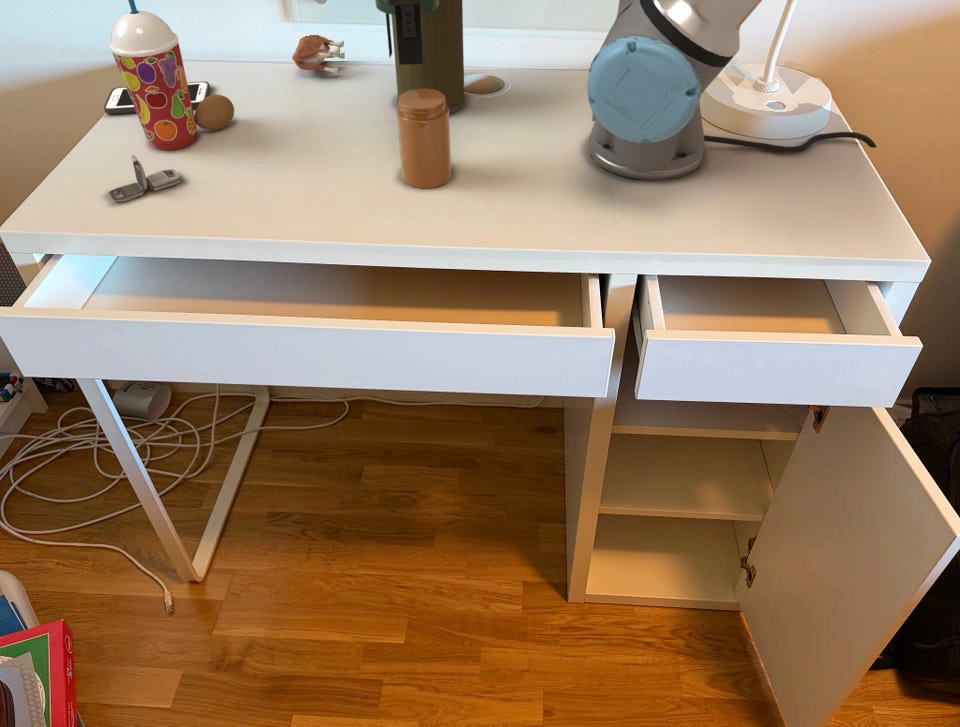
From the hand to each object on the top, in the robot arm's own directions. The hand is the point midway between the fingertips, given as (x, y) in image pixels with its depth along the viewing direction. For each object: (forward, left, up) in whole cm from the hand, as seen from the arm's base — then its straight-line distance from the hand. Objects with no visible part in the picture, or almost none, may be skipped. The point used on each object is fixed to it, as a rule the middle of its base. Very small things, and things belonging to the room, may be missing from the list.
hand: (410, 49), depth 88 cm
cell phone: (+45, -10, -16) cm, 49 cm away
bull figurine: (+22, -30, -14) cm, 39 cm away
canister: (+5, -20, -16) cm, 26 cm away
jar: (-1, +1, -16) cm, 16 cm away
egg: (+30, -7, -13) cm, 34 cm away
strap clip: (+32, +13, -16) cm, 38 cm away
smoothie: (+36, +1, -16) cm, 39 cm away
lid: (0, 0, +6) cm, 6 cm away
